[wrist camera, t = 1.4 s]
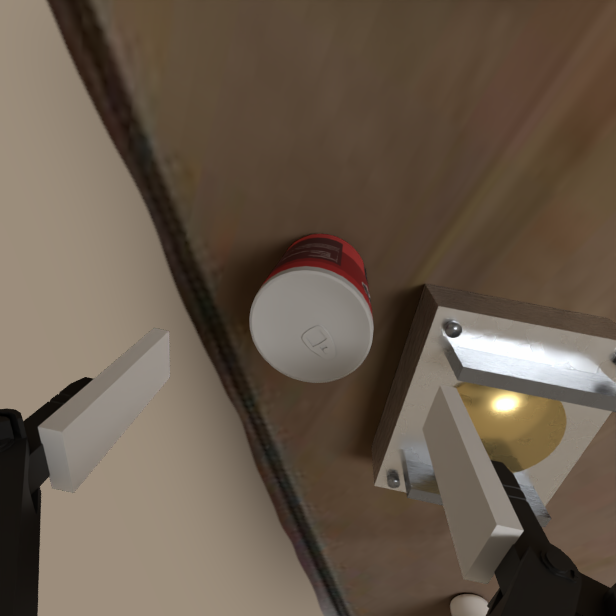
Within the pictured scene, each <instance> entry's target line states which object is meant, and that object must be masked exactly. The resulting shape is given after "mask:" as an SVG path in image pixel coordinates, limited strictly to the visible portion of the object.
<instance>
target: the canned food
mask: <svg viewBox="0 0 616 616" xmlns="http://www.w3.org/2000/svg"><path fill="white" fill-rule="evenodd" d="M249 321H250V331H251V335H252V339H253V341H254V343H255V345H256V347H257V349H258V351H259V352H260V354H261V355H262V356H263V358H264V359H265V360H266V361H267V362H268V363H269V364H270V365H271V366H272V367H274V368H275V369H277V370H278V371H279V372H281V373H283V374H285V375H287V376H289V377H291V378H293V379H297V380H300V381H304V382H312V383H321V382H330V381H334V380H338V379H340V378H342V377H345V376H347V375H348V374H350V373H351V372H353V371H354V370H356V369H357V368H358V367H359V366H360V365H361V364H362V363H363V361H364V360H365V358H366V356H367V355H368V353H369V350H370V347H371V344H372V338H373V329H374V326H373V316H372V308H371V301H370V295H369V288H368V282H367V275H366V269H365V266H364V263H363V261H362V259H361V257H360V255H359V254H358V253H357V251H356V250H355V249H354V248H353V247H352V246H351V245H350V244H348V243H347V242H346V241H344V240H342V239H340V238H338V237H335V236H332V235H328V234H314V235H309V236H306V237H303V238H301V239H299V240H298V241H296V242H295V243H293V244H292V245H291V246H290V247H289V248H288V250H287V251H286V253H285V254H284V255H283V257H282V258H281V259H280V261H279V262H278V264H277V265H276V266H275V268H274V269H273V270H272V272H271V273H270V275H269V276H268V277H267V279H266V280H265V282H264V283H263V285H262V286H261V287H260V289H259V291H258V292H257V294H256V296H255V299H254V301H253V304H252V307H251V311H250V317H249Z"/></svg>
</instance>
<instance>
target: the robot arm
mask: <svg viewBox="0 0 616 616" xmlns="http://www.w3.org/2000/svg"><path fill="white" fill-rule="evenodd" d="M169 378H170V345H169V331H167V330H162V329H157V328H153V329H152V330H151V331H150V332H149V333H147V334H146V335H145V336H144V337H143V338H142V339H140V340H139V341H138V342H137V343H136V344H134V345H133V346H132V347H131V348H130V349H129V350H127V351H126V352H125V353H124V354H123V355H122V356H120V357H119V358H118V359H117V360H116V361H114V363H112V364H111V365H110V366H109V367H107V368H106V369H105V370H104V371H103V372H102V373H100V374H99V375H98V376H97V377H96V378H94V379H92V378H87V377H84V378H82V379H80V380H78V381H76V382H73V383H71V384H70V385H68V386H67V387H66V388H65V389H63V390H62V391H61V392H60V393H59V395H58V394H57V395H56V396H55V397H53V398H52V399H51V400H50V402H47V403H46V404H45V405H43V406H42V407H41V408H40V409H38V410H37V411H36V412H35V413H33V414H32V415H31V416H30V417H29V418H27V419H26V420H25V421H23V419H22V416H21V413H20V412H18V411H17V410H14V409H0V616H37V612H38V580H39V547H40V513H41V490H40V486H41V484H42V483H43V482H44V481H45V480H46V479H47V478H48V477H50V482H51V486H52V488H53V489H58V490H62V491H67V492H72V493H74V492H75V491H76V490H77V488H78V487H79V486H80V485H81V484H82V482H83V481H84V480H85V479H86V478H87V476H88V475H89V474H90V473H91V472H92V470H93V469H94V468H95V467H96V466H97V464H98V463H99V462H100V461H101V460H102V458H103V457H104V456H105V455H106V454H107V452H108V451H109V450H110V449H111V448H112V446H113V445H114V444H115V443H116V441H117V440H118V439H119V438H120V437H121V435H122V434H123V433H124V432H125V431H126V430H127V428H128V427H129V426H130V425H131V424H132V422H133V421H134V420H135V418H136V417H137V416H138V415H139V414H140V413H141V411H142V410H143V409H144V408H145V407H146V405H147V404H148V403H149V402H150V401H151V399H152V398H153V397H154V396H155V395H156V393H157V392H158V391H159V390H160V389H161V387H162V386H163V385H164V383H166V381H167V380H168V379H169ZM422 429H423V433H424V437H425V440H426V444H427V448H428V451H429V455H430V459H431V462H432V466H433V470H434V473H435V477H436V481H437V484H438V488H439V491H440V495H441V499H442V502H443V506H444V510H445V513H446V517H447V521H448V524H449V528H450V532H451V535H452V539H453V542H454V546H455V550H456V553H457V557H458V561H459V564H460V568H461V572H462V575H463V579H466V580H471V581H475V582H480V583H484V584H488V583H489V581H490V580H491V578H492V577H493V575H494V574H495V575H496V578H497V581H498V584H499V587H500V588H499V590H498V591H497V592H496V594H495V595H494V597H493V598H492V599H491V601H490V602H489V604H488V605H487V607H488V608H489V610H488V612H487V614H486V616H616V584H614V585H613V586H612V587H611V588H609V587H607V586H605V585H603V584H601V583H599V582H598V581H596V580H594V579H592V578H590V577H588V576H586V575H584V574H582V573H580V572H579V571H578V569H577V567H576V566H575V564H574V563H573V562H572V561H571V559H570V558H569V557H568V556H567V555H566V554H565V553H564V552H562V551H561V550H560V549H559V548H557V547H555V546H554V545H552V544H550V542H549V541H548V539H547V537H546V535H545V533H544V531H543V529H542V527H541V525H540V524H539V522H538V520H537V518H536V516H535V514H534V512H533V510H532V508H531V506H530V505H529V503H528V502H527V501H526V497H525V495H524V493H523V491H521V487H520V486H519V484H518V482H517V480H516V478H515V476H514V474H513V473H512V472H511V471H510V470H509V469H508V468H507V467H506V466H505V465H504V463H503V462H498V461H493V460H490V458H489V456H488V454H487V452H486V450H485V448H484V446H483V443H482V441H481V439H480V437H479V435H478V433H477V431H476V429H475V427H474V424H473V422H472V420H471V418H470V416H469V414H468V412H467V410H466V408H465V405H464V403H463V401H462V399H461V397H460V395H459V393H458V391H457V389H456V388H454V387H449V386H444V385H440V386H439V388H438V391H437V393H436V396H435V398H434V401H433V403H432V406H431V408H430V411H429V413H428V416H427V418H426V421H425V423H424V426H423V428H422Z"/></svg>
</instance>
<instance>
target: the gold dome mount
mask: <svg viewBox="0 0 616 616" xmlns="http://www.w3.org/2000/svg"><path fill="white" fill-rule="evenodd" d="M440 385H444V386H449V387H454V388H456V389H457V391H458V393H459V395H460V397H461V399H462V401H463V403H464V405H465V408H466V410H467V412H468V414H469V416H470V418H471V420H472V422H473V424H474V427H475V429H476V431H477V433H478V435H479V437H480V439H481V441H482V443H483V446H484V448H485V450H486V452H487V454H488V456H489V458H490V460H493V461H498V462H503V463H504V465H505V466H506V467H507V468H508V469H509V470H510V471H511V472H512V473H513V474H514V476H515V478H516V480H517V482H518V484H519V486H520V487H521V491H523V493H524V495H525V497H526V501H527V502H528V503H529V505H530V506H531V508H532V510H533V512H534V514H535V516H536V518H537V520H538V522H539V524H540V525H541V527H546V525H547V524H548V522H549V521H550V520H551V517H550V515H549V513H548V512H547V510H546V508H545V506H546V505H547V503H548V502H549V500H550V499H551V497H552V496H553V495H554V493H555V492H556V490H557V489H558V487H559V486H560V485H561V483H562V482H563V480H564V479H565V477H566V476H567V475H568V473H569V472H570V470H571V469H572V468H573V466H574V465H575V463H576V462H577V460H578V459H579V458H580V456H581V455H582V453H583V452H584V450H585V449H586V448H587V446H588V445H589V443H590V442H591V440H592V439H593V438H594V436H595V435H596V433H597V432H598V430H599V429H600V428H601V426H602V425H603V423H604V422H605V420H606V419H607V418H608V416H609V415H610V413H611V412H616V323H615V322H613V321H612V320H610V319H608V318H603V317H598V316H592V315H587V314H582V313H577V312H571V311H566V310H561V309H556V308H550V307H545V306H540V305H535V304H529V303H524V302H519V301H514V300H508V299H503V298H498V297H493V296H487V295H482V294H477V293H472V292H466V291H461V290H456V289H450V288H445V287H440V286H435V285H429V284H425V285H424V288H423V291H422V295H421V298H420V301H419V304H418V307H417V310H416V313H415V316H414V319H413V322H412V325H411V328H410V331H409V334H408V337H407V340H406V343H405V346H404V349H403V352H402V355H401V358H400V361H399V364H398V367H397V370H396V374H395V377H394V380H393V383H392V386H391V389H390V392H389V395H388V398H387V401H386V404H385V407H384V410H383V413H382V416H381V419H380V422H379V425H378V428H377V431H376V434H375V437H374V440H373V443H372V446H371V447H372V461H373V475H374V486H379V487H383V488H388V489H393V490H397V491H402V492H406V493H407V498H411V499H416V500H421V501H425V502H430V503H434V504H439V505H443V502H442V499H441V495H440V491H439V488H438V484H437V481H436V477H435V473H434V470H433V466H432V462H431V459H430V455H429V451H428V448H427V444H426V440H425V437H424V433H423V429H422V428H423V426H424V423H425V421H426V418H427V416H428V413H429V411H430V408H431V406H432V403H433V401H434V398H435V396H436V393H437V391H438V388H439V386H440Z"/></svg>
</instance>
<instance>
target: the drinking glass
mask: <svg viewBox="0 0 616 616" xmlns="http://www.w3.org/2000/svg"><path fill="white" fill-rule="evenodd" d="M487 605H488V602H487V601H486V600H485V599H484V598H482V597H480V596H478V595H474V594H461V595H458V596H456V597H454V598H453V599H452V601H451V603H450V610H451V615H452V616H486V614H487V612H488V610H489V608H488V607H487Z"/></svg>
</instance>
